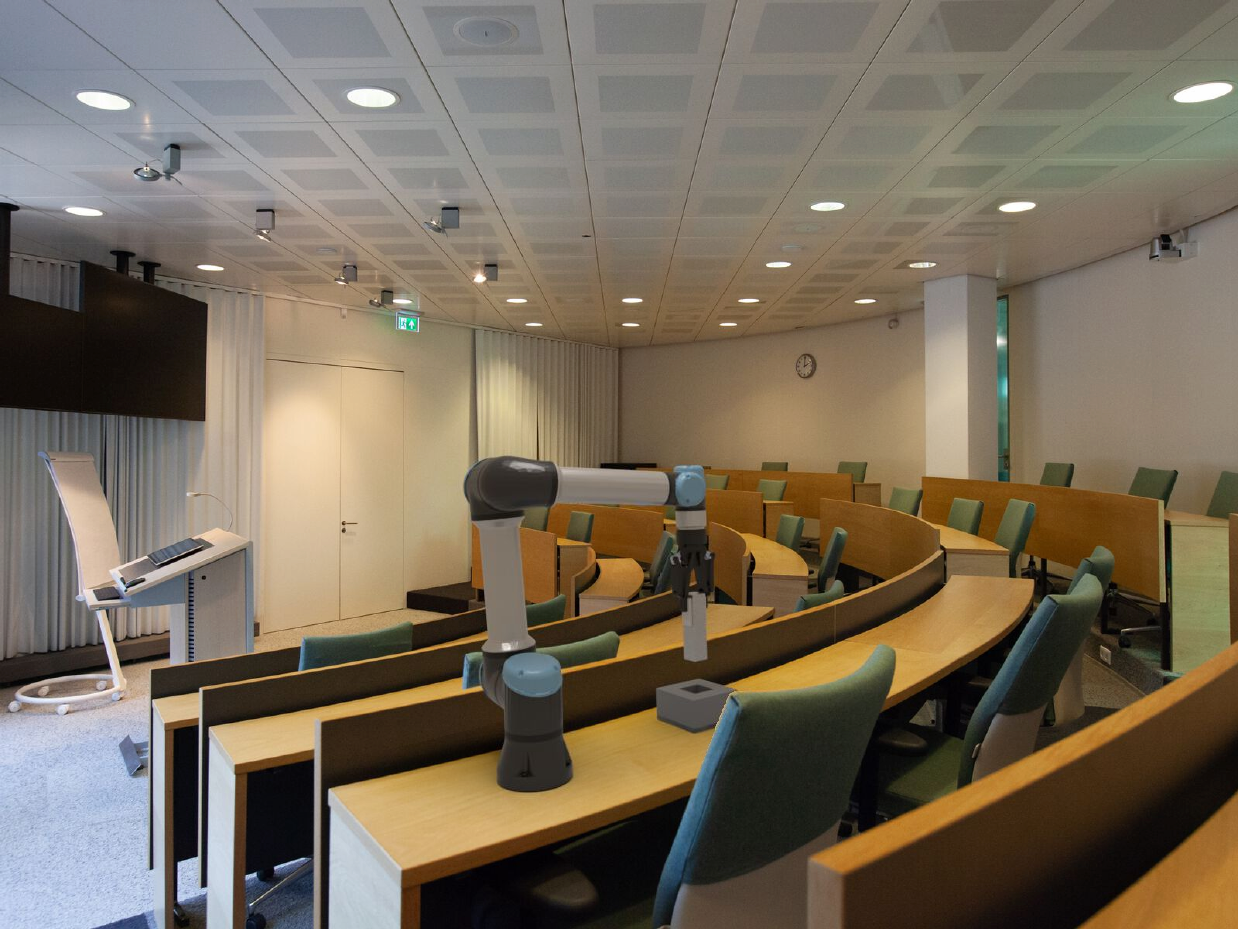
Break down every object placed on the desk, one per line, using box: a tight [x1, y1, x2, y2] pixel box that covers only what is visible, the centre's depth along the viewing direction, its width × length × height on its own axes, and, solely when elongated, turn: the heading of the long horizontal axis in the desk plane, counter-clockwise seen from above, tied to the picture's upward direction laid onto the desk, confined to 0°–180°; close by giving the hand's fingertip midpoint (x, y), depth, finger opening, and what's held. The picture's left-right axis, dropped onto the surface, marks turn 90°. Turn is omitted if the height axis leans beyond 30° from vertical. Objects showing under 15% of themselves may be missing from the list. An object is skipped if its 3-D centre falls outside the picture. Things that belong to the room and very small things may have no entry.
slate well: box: [655, 678, 738, 734], centre depth 181 cm, size 14×14×8 cm
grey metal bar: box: [682, 591, 708, 663], centre depth 182 cm, size 4×4×16 cm
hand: (694, 623), depth 182 cm, fingers closed on grey metal bar, 4 cm apart
